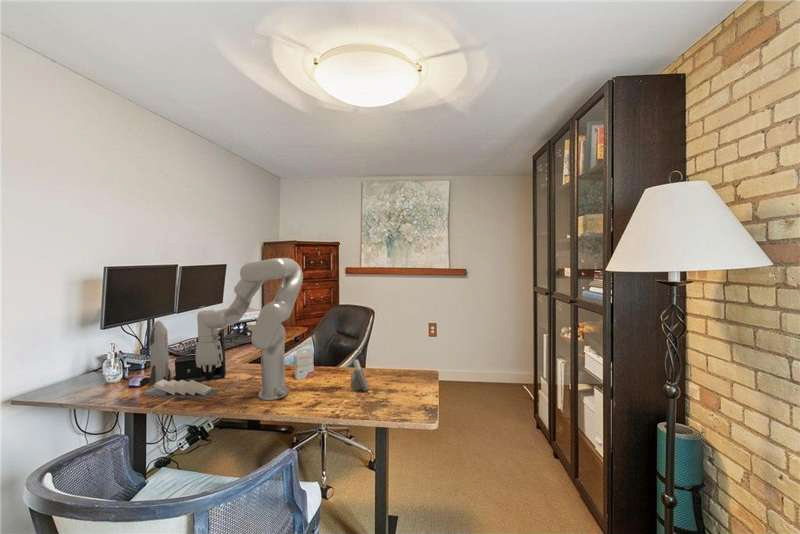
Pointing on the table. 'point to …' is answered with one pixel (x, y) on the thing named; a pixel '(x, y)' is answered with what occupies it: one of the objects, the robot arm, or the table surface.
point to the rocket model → (159, 354)
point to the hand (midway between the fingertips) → (209, 380)
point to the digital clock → (358, 378)
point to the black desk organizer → (190, 371)
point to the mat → (191, 395)
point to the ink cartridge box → (304, 363)
